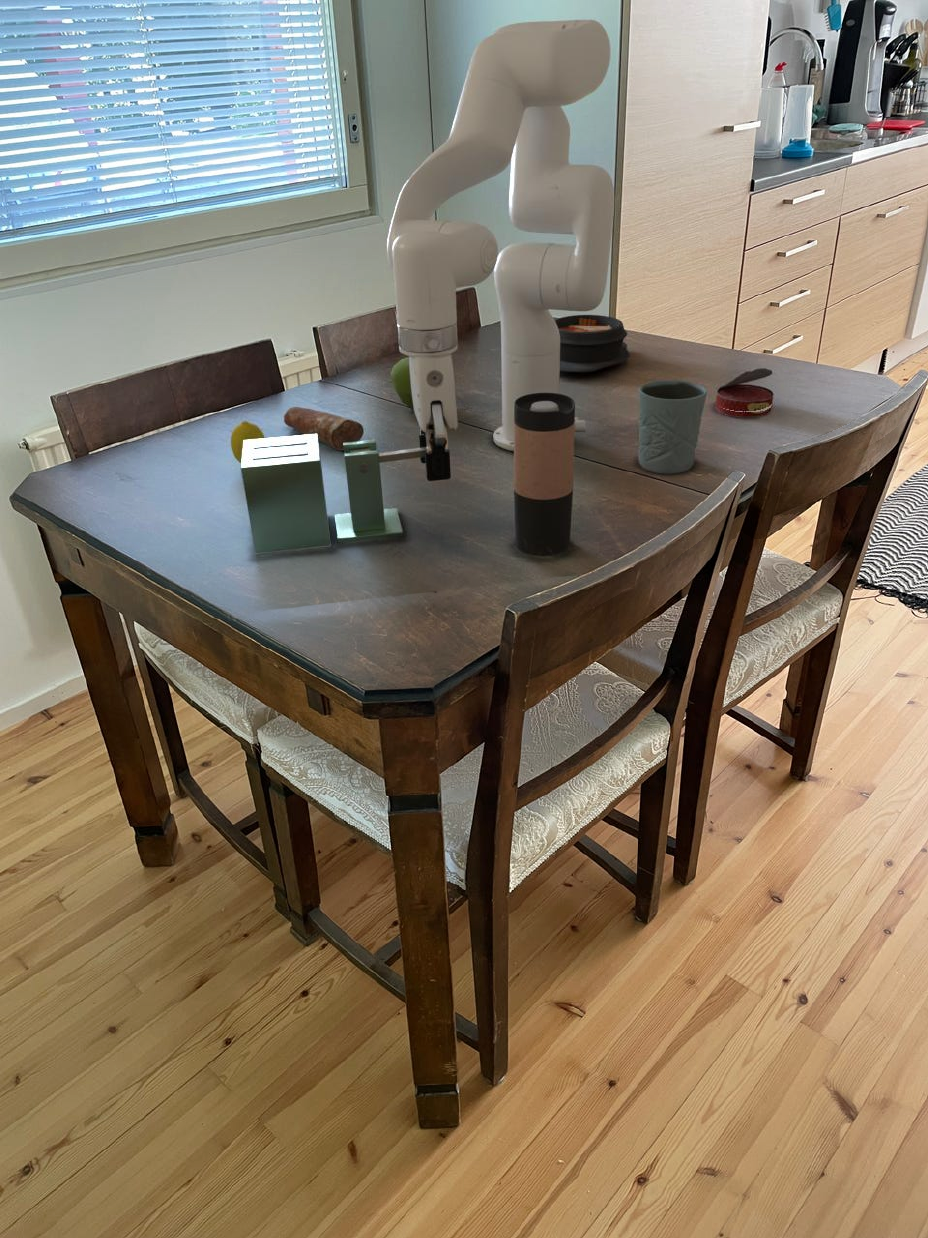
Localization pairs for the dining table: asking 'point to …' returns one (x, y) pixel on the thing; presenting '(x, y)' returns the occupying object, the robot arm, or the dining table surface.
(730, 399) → the canned food
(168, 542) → the dining table surface
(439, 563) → the dining table surface
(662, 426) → the green embossed cup
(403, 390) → the apple
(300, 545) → the toaster
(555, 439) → the travel mug
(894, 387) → the dining table surface
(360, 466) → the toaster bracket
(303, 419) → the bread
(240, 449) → the lemon
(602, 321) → the casserole
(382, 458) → the lever
